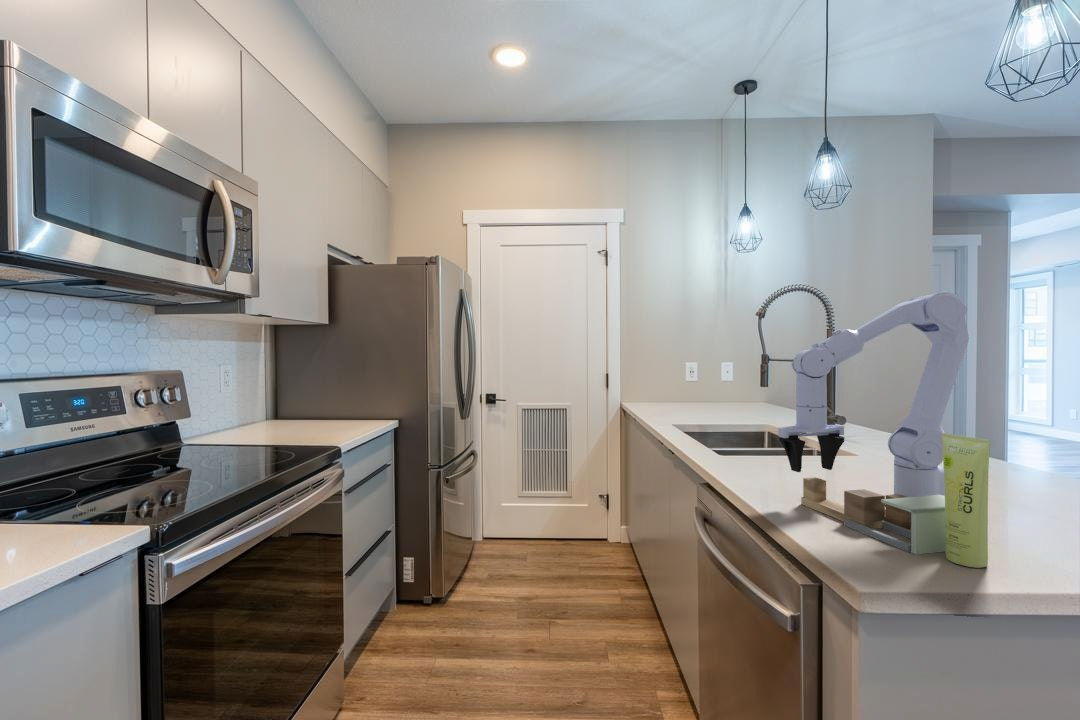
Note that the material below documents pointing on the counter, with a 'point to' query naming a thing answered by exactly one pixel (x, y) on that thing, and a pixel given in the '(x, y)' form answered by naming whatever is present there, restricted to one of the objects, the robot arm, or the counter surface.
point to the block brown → (897, 514)
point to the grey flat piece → (883, 536)
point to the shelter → (924, 521)
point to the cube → (864, 505)
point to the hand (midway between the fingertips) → (811, 469)
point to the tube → (966, 499)
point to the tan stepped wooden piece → (827, 502)
